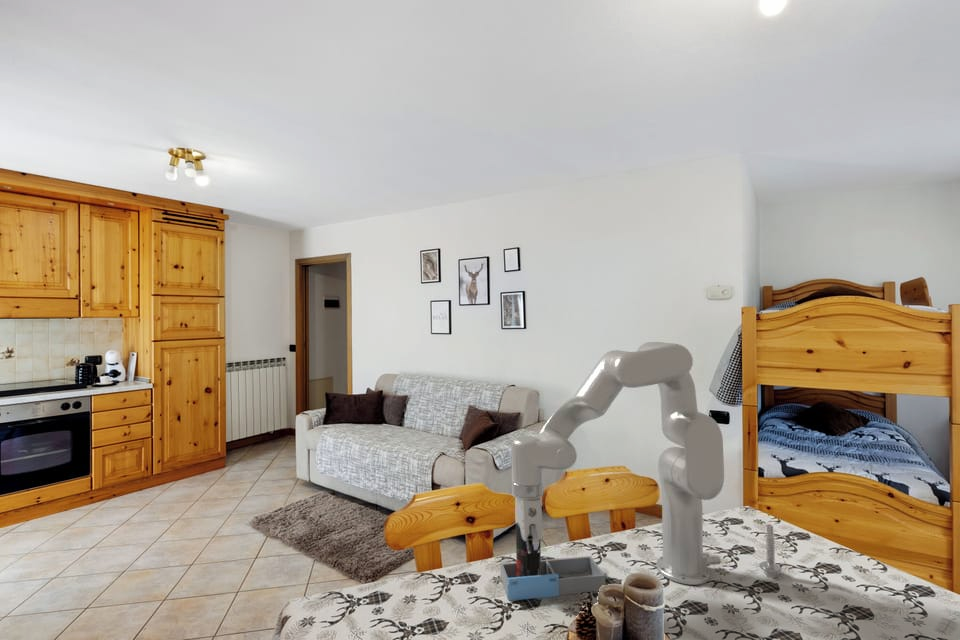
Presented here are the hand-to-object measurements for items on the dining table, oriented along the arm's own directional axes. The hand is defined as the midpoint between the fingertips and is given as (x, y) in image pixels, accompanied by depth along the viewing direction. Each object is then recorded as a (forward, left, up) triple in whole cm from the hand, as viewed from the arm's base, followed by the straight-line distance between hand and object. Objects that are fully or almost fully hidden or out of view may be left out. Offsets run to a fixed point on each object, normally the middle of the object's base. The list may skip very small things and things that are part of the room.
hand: (527, 558), depth 110 cm
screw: (-62, +5, -7) cm, 63 cm away
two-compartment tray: (-6, 0, -7) cm, 9 cm away
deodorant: (0, 0, -7) cm, 7 cm away
